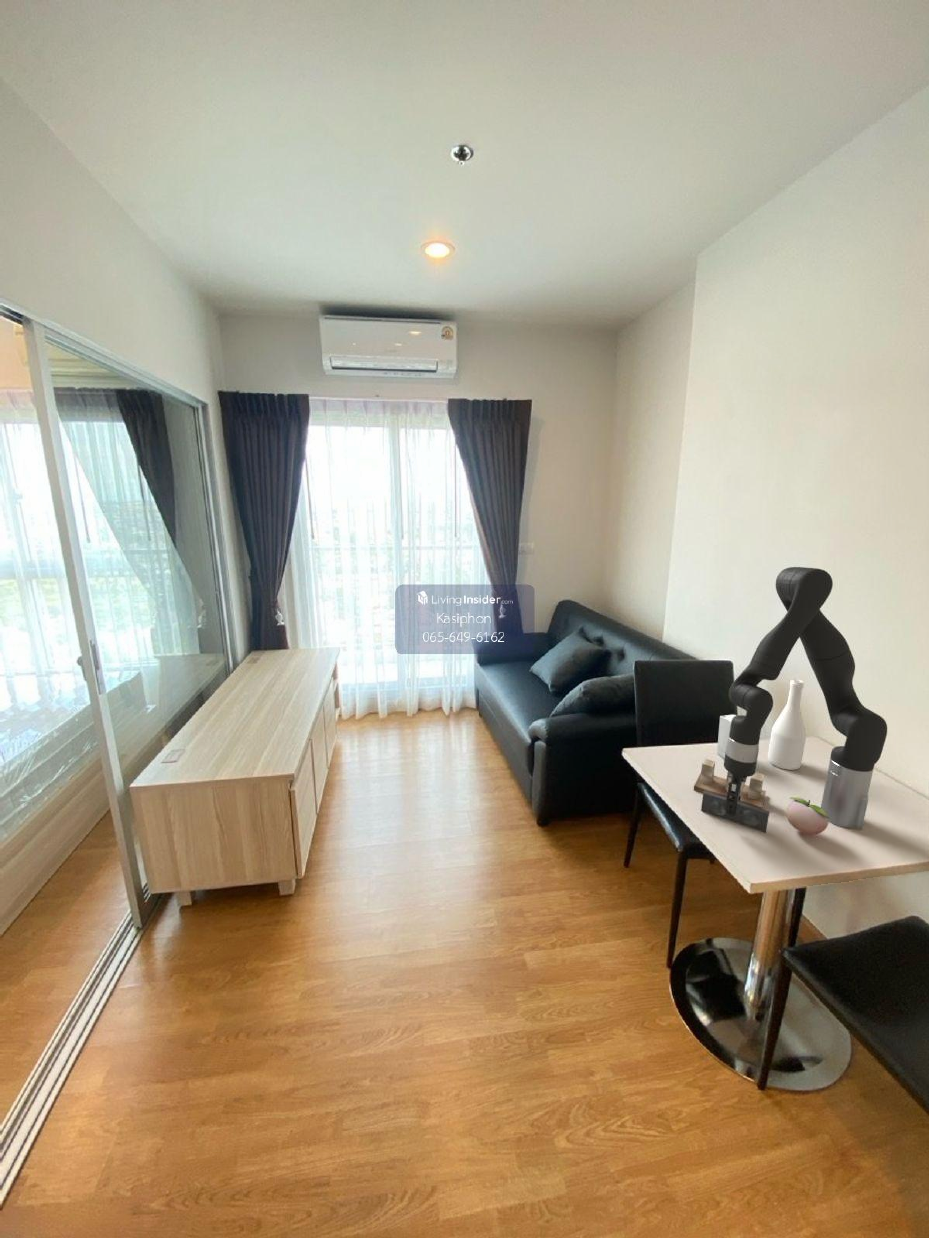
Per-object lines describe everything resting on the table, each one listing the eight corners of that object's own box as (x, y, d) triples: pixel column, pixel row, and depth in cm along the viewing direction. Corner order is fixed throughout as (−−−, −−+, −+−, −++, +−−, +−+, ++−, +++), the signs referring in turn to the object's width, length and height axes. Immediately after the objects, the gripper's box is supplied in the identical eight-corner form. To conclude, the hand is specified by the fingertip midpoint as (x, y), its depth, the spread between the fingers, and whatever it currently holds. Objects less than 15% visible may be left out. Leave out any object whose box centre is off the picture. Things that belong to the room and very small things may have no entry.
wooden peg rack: (765, 795, 143) (769, 771, 142) (761, 811, 136) (765, 787, 134) (700, 775, 154) (703, 753, 152) (693, 790, 146) (696, 766, 144)
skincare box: (747, 764, 161) (752, 724, 157) (730, 765, 160) (736, 725, 156) (730, 751, 169) (735, 713, 165) (714, 753, 168) (719, 714, 165)
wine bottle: (761, 760, 163) (774, 678, 156) (777, 753, 167) (790, 674, 160) (790, 773, 155) (805, 688, 148) (806, 766, 159) (821, 682, 152)
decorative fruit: (777, 830, 128) (782, 797, 126) (789, 818, 133) (794, 786, 130) (818, 849, 121) (825, 815, 118) (829, 836, 125) (835, 803, 123)
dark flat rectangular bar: (766, 830, 128) (769, 811, 127) (765, 833, 127) (768, 814, 126) (702, 808, 138) (704, 790, 136) (700, 811, 136) (703, 792, 135)
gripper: (753, 770, 120) (744, 825, 124) (760, 748, 131) (752, 799, 135) (720, 760, 124) (713, 814, 128) (730, 740, 135) (722, 790, 139)
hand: (733, 806), depth 131 cm, fingers open, 8 cm apart
